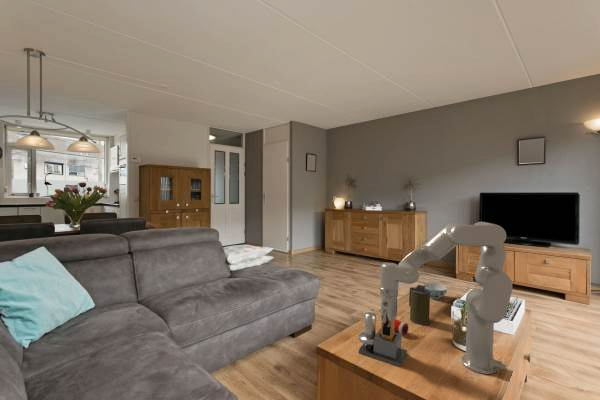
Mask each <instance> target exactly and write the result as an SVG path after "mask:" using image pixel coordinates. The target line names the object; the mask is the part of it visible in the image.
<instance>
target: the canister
mask: <svg viewBox="0 0 600 400" xmlns="http://www.w3.org/2000/svg"><path fill="white" fill-rule="evenodd" d="M423 285H424V284H423ZM423 285H422V284H418V285H416V286H415V287H413V286H411V287H410V288H409V296H408V298H409V299H408V301H409V302H408V303H409V305H408V306H409V307H410V309H409V321H410V322H411V323H414V324H416V325H422V326H425V325H426V326H427V325H429V324H430V310H431V309H430V307H431V298H430V291H429V290H428V289H425V287H426V286H423Z"/></svg>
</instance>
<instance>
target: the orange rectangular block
mask: <svg viewBox="0 0 600 400" xmlns="http://www.w3.org/2000/svg"><path fill="white" fill-rule="evenodd" d="M395 318H396V317H395ZM395 318H394V319H393V320H392V321H390V336H387V335H383V334H382V328H383V323H382V320H383V319H382V318H381V324H380V325H381V326H380V327H381V328H380V329H381V337H382V338H385V339H389V340H392V341H393V340H394V332H395V331H394V327H395ZM386 319H388V318H386ZM386 322H388V321H387V320H386Z"/></svg>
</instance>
